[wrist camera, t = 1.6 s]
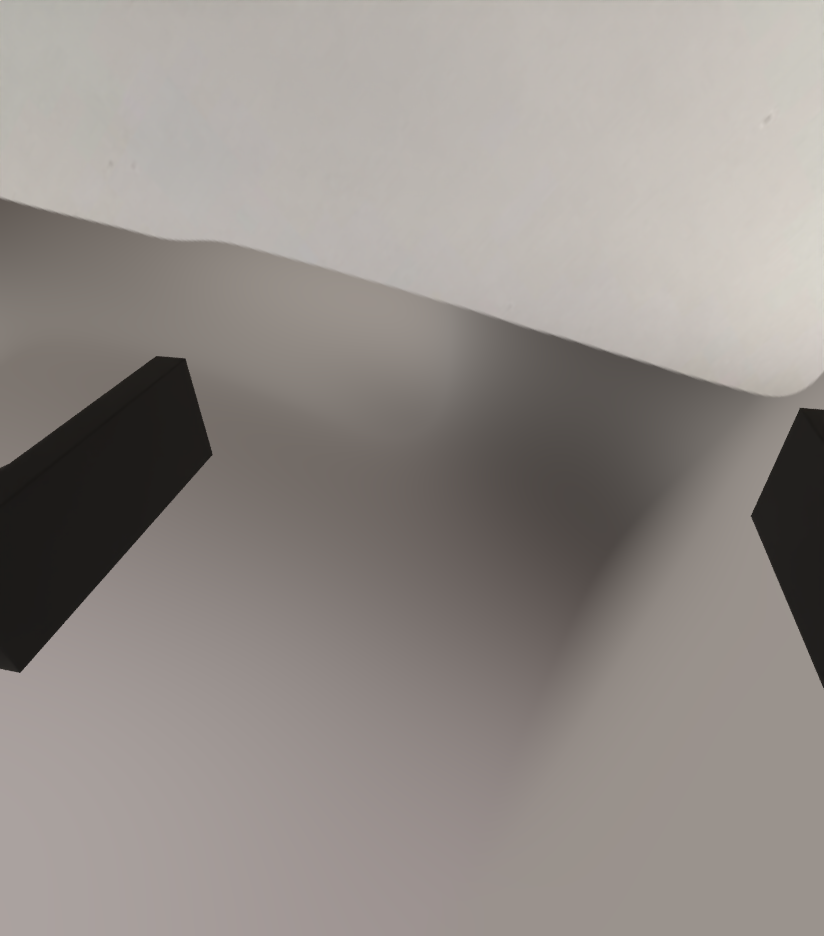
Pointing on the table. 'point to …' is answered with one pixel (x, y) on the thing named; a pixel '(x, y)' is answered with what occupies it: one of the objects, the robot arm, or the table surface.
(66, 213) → the table surface
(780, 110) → the table surface
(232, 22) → the table surface
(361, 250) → the table surface
